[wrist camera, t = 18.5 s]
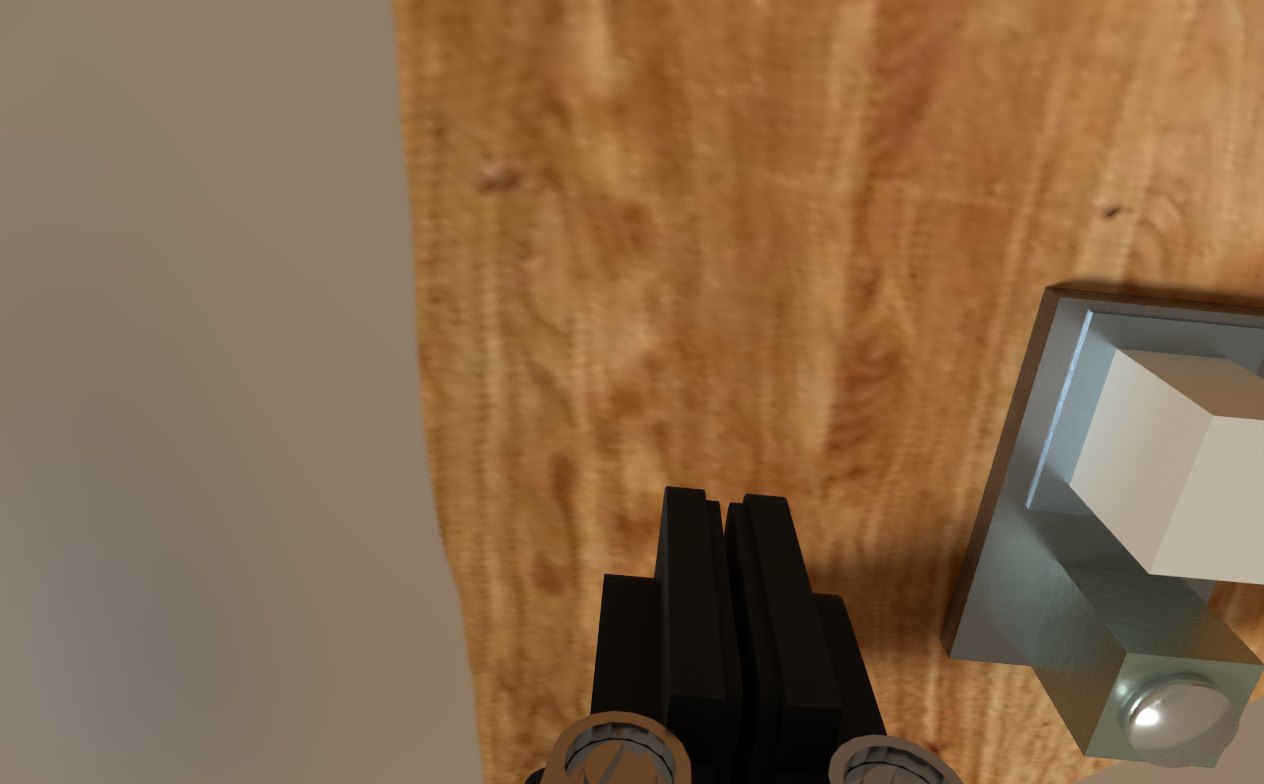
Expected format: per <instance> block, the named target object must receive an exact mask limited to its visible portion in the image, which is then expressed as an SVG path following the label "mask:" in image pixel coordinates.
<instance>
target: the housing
mask: <svg viewBox="0 0 1264 784" xmlns="http://www.w3.org/2000/svg"><path fill="white" fill-rule="evenodd" d="M1070 487H1071V488H1072V489H1073V490H1074V491H1075V493H1076V494H1077V495H1078V496H1079V497H1080V498H1081V499H1082V500H1083V501H1084V503H1085V504H1086V505H1087V506H1088V507H1089V508H1090V509H1091V510H1092V511H1093V513H1094V514H1095V515H1096V516H1097V517H1098V518H1099V519H1100V520H1101V521H1102V522H1103V524H1104V525H1105V526H1106V527H1107V528H1108V529H1109V530H1110V531H1111V532H1112V534H1113V535H1114V536H1115V537H1116V538H1117V539H1118V540H1119V541H1120V542H1121V544H1122V545H1123V546H1124V547H1125V548H1126V549H1127V550H1128V551H1129V552H1130V553H1131V555H1132V556H1133V557H1134V558H1135V559H1136V560H1137V561H1138V562H1139V563H1140V565H1141V566H1142V567H1143V568H1144V569H1145V570H1146V571H1147V572H1148V573H1149V574H1155V575H1166V576H1177V577H1187V578H1198V579H1209V580H1220V581H1231V582H1242V583H1253V584H1263V585H1264V379H1262V378H1261V377H1259V376H1257V375H1255V374H1254V373H1252V372H1250V371H1249V370H1247V369H1245V368H1243V367H1242V366H1240V365H1238V364H1236V363H1235V362H1233V361H1231V360H1229V359H1223V358H1212V357H1202V356H1191V355H1180V354H1170V353H1159V352H1149V351H1138V350H1127V349H1116V352H1115V355H1114V358H1113V361H1112V364H1111V367H1110V369H1109V372H1108V375H1107V378H1106V381H1105V384H1104V387H1103V390H1102V393H1101V396H1100V399H1099V401H1098V404H1097V407H1096V410H1095V413H1094V416H1093V419H1092V422H1091V425H1090V428H1089V430H1088V433H1087V436H1086V439H1085V442H1084V445H1083V448H1082V451H1081V454H1080V457H1079V460H1078V462H1077V465H1076V468H1075V471H1074V474H1073V477H1072V480H1071V483H1070Z"/></svg>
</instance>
